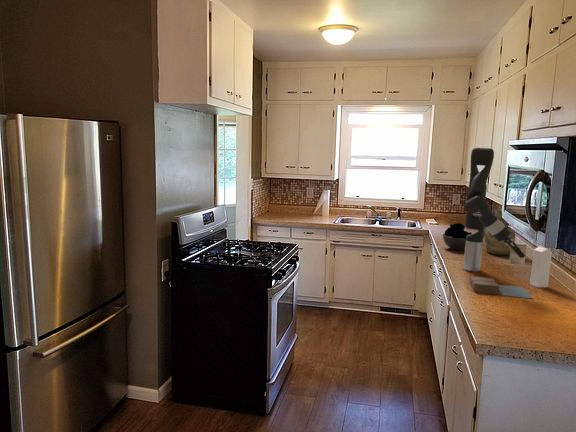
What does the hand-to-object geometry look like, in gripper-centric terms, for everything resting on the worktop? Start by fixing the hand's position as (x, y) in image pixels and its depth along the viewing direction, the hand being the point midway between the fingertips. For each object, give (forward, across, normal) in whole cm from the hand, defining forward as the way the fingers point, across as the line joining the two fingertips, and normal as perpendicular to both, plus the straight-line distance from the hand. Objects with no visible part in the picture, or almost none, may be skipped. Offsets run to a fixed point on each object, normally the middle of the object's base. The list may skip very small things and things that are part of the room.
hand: (521, 255), depth 216 cm
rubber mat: (+12, 0, +14) cm, 19 cm away
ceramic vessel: (+20, +94, +6) cm, 96 cm away
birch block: (+2, 0, +4) cm, 4 cm away
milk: (+23, +17, +3) cm, 29 cm away
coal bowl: (0, +96, +26) cm, 99 cm away
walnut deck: (+2, 0, +24) cm, 24 cm away
